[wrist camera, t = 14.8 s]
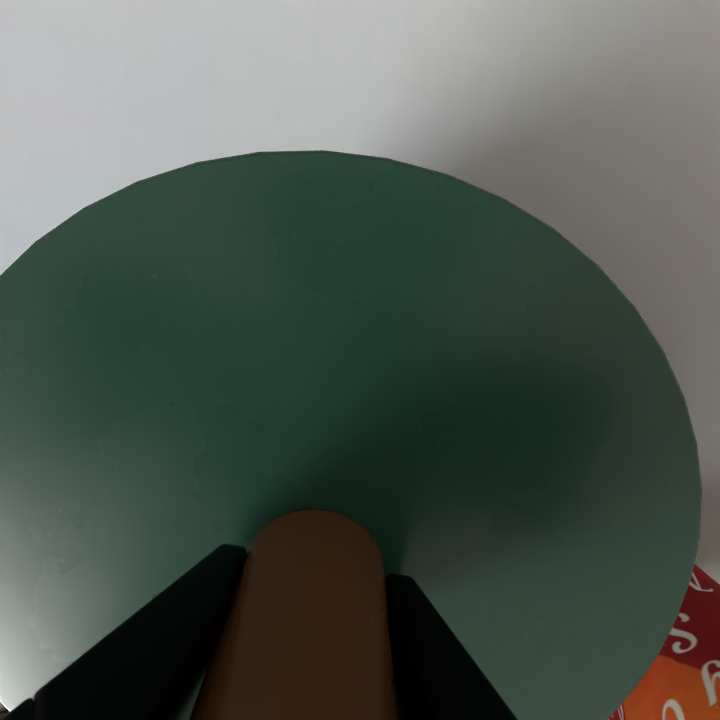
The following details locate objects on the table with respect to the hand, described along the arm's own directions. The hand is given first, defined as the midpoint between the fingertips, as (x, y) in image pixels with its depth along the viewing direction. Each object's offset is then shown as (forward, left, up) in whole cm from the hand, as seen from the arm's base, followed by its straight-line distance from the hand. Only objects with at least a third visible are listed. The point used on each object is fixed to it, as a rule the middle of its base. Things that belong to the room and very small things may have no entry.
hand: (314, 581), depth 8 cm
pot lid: (0, 0, -1) cm, 1 cm away
